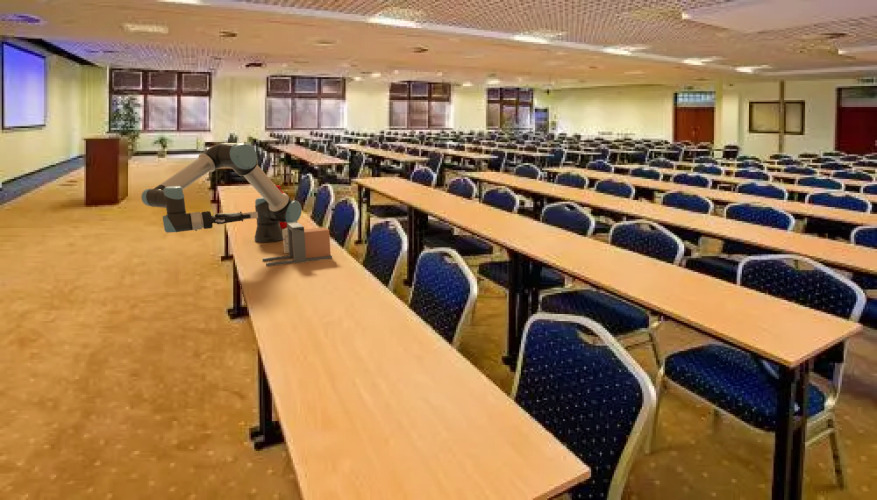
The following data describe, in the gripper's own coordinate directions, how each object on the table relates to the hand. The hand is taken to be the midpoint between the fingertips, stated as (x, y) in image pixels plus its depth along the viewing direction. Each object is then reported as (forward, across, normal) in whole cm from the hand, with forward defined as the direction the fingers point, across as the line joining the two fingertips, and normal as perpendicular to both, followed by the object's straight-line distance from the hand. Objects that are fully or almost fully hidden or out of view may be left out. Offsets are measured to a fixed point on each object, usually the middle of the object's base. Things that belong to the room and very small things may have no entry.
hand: (257, 214), depth 276 cm
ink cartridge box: (+17, -15, -23) cm, 32 cm away
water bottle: (+24, -78, -24) cm, 84 cm away
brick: (+22, +3, -22) cm, 32 cm away
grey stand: (+16, +3, -22) cm, 28 cm away
